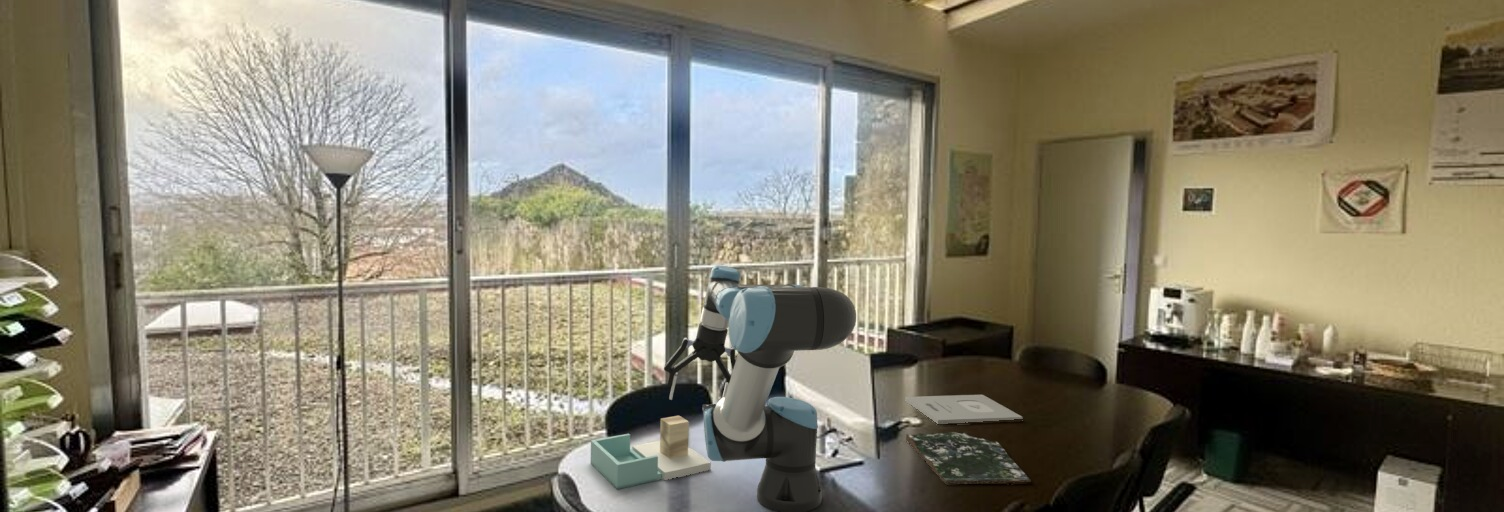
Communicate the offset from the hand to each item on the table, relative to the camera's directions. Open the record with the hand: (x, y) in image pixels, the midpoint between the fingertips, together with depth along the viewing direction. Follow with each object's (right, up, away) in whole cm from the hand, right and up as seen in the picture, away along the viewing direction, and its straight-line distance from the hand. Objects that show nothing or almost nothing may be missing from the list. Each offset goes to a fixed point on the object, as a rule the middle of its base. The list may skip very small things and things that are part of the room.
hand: (696, 402), depth 173 cm
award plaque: (+86, -15, +53) cm, 102 cm away
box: (-18, -16, -5) cm, 25 cm away
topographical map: (+74, -19, +10) cm, 77 cm away
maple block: (-6, -14, +2) cm, 15 cm away
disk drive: (+6, -14, +41) cm, 43 cm away
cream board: (-7, -16, +2) cm, 18 cm away
